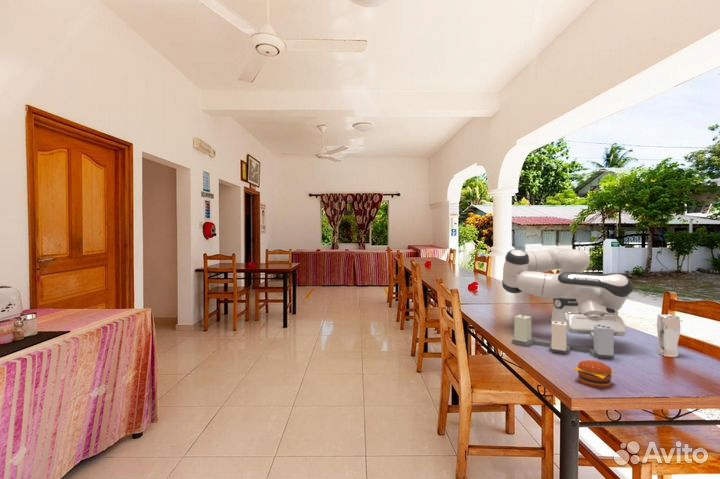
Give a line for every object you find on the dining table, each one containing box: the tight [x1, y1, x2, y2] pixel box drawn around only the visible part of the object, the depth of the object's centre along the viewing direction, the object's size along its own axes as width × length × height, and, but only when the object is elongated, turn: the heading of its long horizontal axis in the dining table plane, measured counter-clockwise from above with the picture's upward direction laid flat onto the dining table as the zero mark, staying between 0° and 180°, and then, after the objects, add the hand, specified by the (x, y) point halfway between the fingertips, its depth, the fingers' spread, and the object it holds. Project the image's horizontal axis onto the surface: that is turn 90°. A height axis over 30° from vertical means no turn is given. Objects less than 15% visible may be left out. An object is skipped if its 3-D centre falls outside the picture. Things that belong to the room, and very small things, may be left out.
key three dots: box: [593, 325, 615, 357], centre depth 139 cm, size 5×5×10 cm
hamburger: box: [573, 359, 616, 389], centre depth 117 cm, size 9×10×7 cm
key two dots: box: [551, 321, 568, 351], centre depth 145 cm, size 5×5×10 cm
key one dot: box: [513, 314, 532, 342], centre depth 156 cm, size 5×5×10 cm
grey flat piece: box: [511, 337, 615, 359], centre depth 150 cm, size 12×36×2 cm, turn 57°
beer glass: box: [656, 313, 681, 358], centre depth 141 cm, size 7×7×15 cm
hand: (600, 343), depth 142 cm, fingers closed, pressing on key three dots
